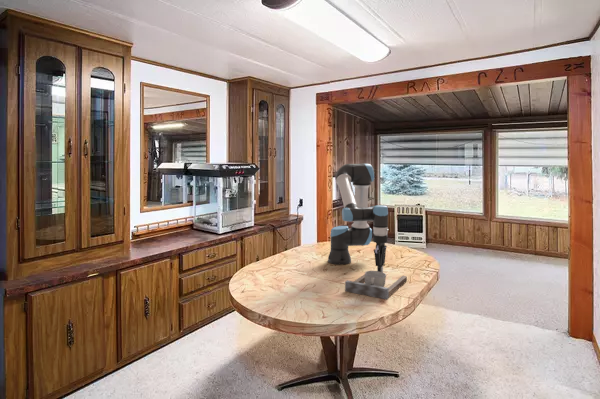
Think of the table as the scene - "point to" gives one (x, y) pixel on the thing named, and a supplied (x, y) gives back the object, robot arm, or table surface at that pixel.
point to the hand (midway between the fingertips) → (380, 277)
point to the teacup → (375, 278)
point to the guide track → (373, 287)
